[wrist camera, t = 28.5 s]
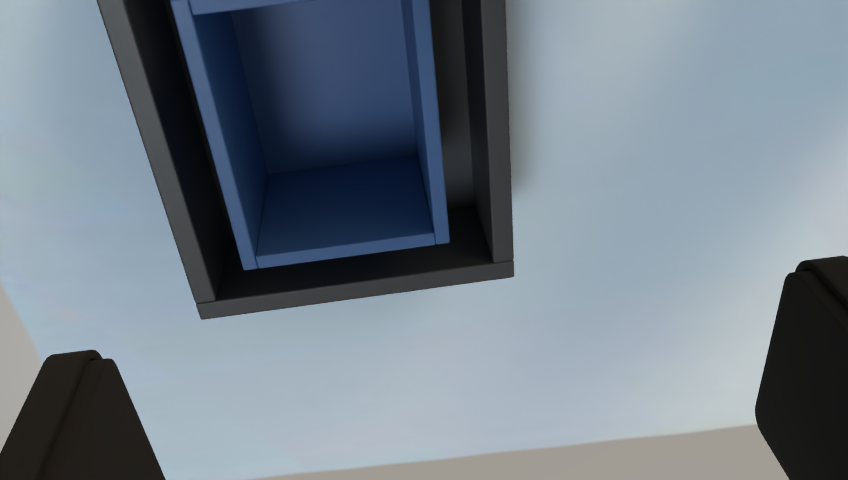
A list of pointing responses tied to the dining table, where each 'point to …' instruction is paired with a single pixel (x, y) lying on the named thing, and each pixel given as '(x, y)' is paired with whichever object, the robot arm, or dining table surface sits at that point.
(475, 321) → the dining table surface
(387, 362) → the dining table surface
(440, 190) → the nested bin
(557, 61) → the dining table surface
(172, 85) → the base bin
